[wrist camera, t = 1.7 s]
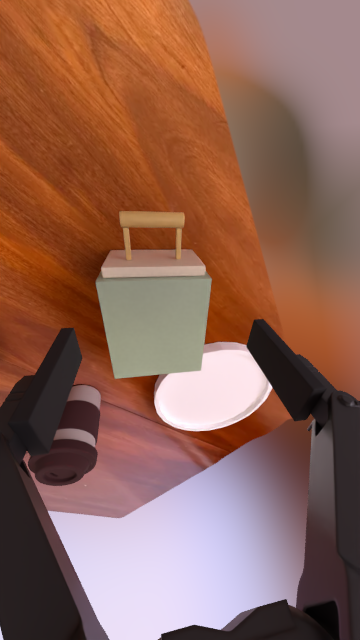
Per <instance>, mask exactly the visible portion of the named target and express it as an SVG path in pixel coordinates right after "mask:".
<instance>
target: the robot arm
mask: <svg viewBox="0 0 360 640" xmlns="http://www.w3.org/2000/svg"><path fill="white" fill-rule="evenodd" d="M246 347H247V349H248V350H249V352H250V353H251V355H252V357H253V358H254V360H255V361H256V363H257V364H258V366H259V367H260V369H261V370H262V372H263V373H264V375H265V377H266V378H267V380H268V381H269V383H270V384H271V386H272V387H273V389H274V390H275V392H276V393H277V395H278V397H279V398H280V400H281V401H282V403H283V404H284V406H285V407H286V409H287V410H288V412H289V413H290V415H291V417H292V418H293V419H294V421H300V420H306V419H307V418H308V416H309V415H310V413H311V414H312V416H313V417H314V420H313V421H312V423H311V424H310V426H309V427H308V429H307V430H308V431H310V430H311V428H312V439H311V456H310V473H309V491H308V509H307V527H306V543H305V560H304V569H303V573H302V576H301V578H300V581H299V585H298V591H297V603H296V608H295V607H293V606H290V605H288V603H287V600H286V599H285V600H281V601H278V602H274V603H271V604H267V605H263V606H260V607H257V608H254V609H250V610H248V611H244V612H242V613H240V614H239V615H238V616H236V618H234V619H233V620H232V621H231V622H230V623H228V624H227V625H226V626H225V627H224V628H223V629H221V630H217V629H213V628H208V627H203V626H197V625H192V626H188V627H185V628H182V629H178V630H174V631H170V632H167V633H164V634H161V638H162V640H360V401H357V400H356V399H355V398H354V397H353V396H351V395H350V394H348V393H346V392H343V391H337V390H336V389H335V388H334V387H333V386H332V385H331V384H330V383H329V382H328V381H327V379H326V378H325V377H324V376H323V375H322V374H321V373H320V372H318V370H317V369H316V368H315V367H313V365H312V364H311V363H310V362H309V361H308V360H307V359H306V358H304V357H303V356H301V355H300V354H299V355H296V354H295V353H294V352H293V351H292V350H291V349H290V348H289V347H288V346H287V345H286V343H285V342H284V341H283V340H282V339H281V338H280V337H279V336H278V335H277V334H276V333H275V331H274V330H273V329H272V328H271V327H270V326H269V325H268V324H267V323H266V322H265V321H264V319H258V320H254V322H253V326H252V329H251V332H250V336H249V339H248V343H247V346H246ZM81 360H82V355H81V352H80V348H79V345H78V341H77V338H76V334H75V331H74V328H61V330H60V332H59V334H58V335H57V337H56V339H55V341H54V342H53V344H52V346H51V348H50V349H49V351H48V353H47V355H46V356H45V358H44V360H43V362H42V363H41V365H40V367H39V369H38V370H37V372H36V374H35V375H31V376H24V377H23V378H22V379H21V380H19V381H18V382H17V383H16V384H15V386H14V387H13V389H12V390H11V392H10V394H9V395H8V396H7V398H6V400H5V402H4V403H3V404H2V406H1V407H0V627H1V631H2V635H3V639H4V640H109V638H108V636H107V635H106V633H105V631H104V629H103V628H102V626H101V625H100V623H99V621H98V619H97V617H96V615H95V613H94V611H93V608H92V606H91V604H90V602H89V600H88V598H87V595H86V593H85V591H84V589H83V587H82V585H81V582H80V580H79V578H78V576H77V574H76V572H75V570H74V567H73V565H72V563H71V561H70V559H69V556H68V554H67V552H66V550H65V548H64V546H63V544H62V541H61V539H60V537H59V535H58V533H57V531H56V529H55V526H54V524H53V522H52V520H51V518H50V516H49V514H48V511H47V509H46V507H45V505H44V503H43V500H42V498H41V496H40V494H39V492H38V490H37V487H36V485H35V483H34V481H33V479H32V477H31V475H30V472H29V470H28V468H27V466H26V464H25V462H24V460H23V458H24V455H25V453H26V451H28V453H29V454H30V455H31V456H36V455H43V454H49V451H50V448H51V445H52V443H53V440H54V437H55V434H56V431H57V428H58V426H59V423H60V420H61V417H62V414H63V411H64V409H65V406H66V403H67V400H68V397H69V394H70V391H71V389H72V386H73V383H74V380H75V377H76V374H77V372H78V369H79V366H80V363H81ZM161 638H160V639H158V640H161Z"/></svg>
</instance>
